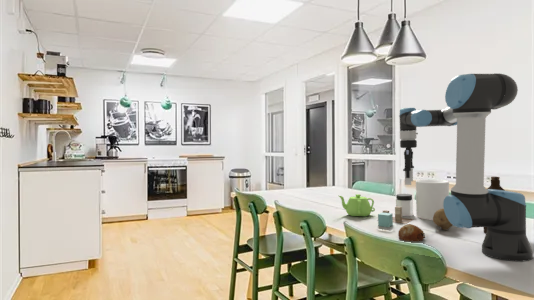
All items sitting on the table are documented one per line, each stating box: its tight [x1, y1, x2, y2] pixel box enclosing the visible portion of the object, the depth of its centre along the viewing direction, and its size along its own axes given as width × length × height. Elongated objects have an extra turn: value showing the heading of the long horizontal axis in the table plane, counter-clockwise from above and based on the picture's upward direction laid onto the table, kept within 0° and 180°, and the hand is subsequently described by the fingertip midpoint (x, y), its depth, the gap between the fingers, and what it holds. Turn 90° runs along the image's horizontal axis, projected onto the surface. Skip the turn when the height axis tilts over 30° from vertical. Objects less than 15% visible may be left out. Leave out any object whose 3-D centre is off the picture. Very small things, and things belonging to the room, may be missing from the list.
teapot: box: [338, 193, 376, 217], centre depth 194 cm, size 16×14×13 cm
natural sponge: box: [432, 209, 453, 231], centre depth 160 cm, size 9×9×10 cm
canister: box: [415, 179, 450, 221], centre depth 184 cm, size 16×16×20 cm
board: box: [393, 216, 414, 225], centre depth 180 cm, size 12×15×1 cm
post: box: [394, 205, 403, 221], centre depth 177 cm, size 3×3×7 cm
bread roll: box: [397, 223, 426, 243], centre depth 149 cm, size 10×10×8 cm
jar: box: [395, 193, 414, 217], centre depth 191 cm, size 9×8×12 cm
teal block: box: [377, 211, 394, 228], centre depth 169 cm, size 5×5×7 cm
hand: (409, 182), depth 169 cm, fingers open, 13 cm apart
